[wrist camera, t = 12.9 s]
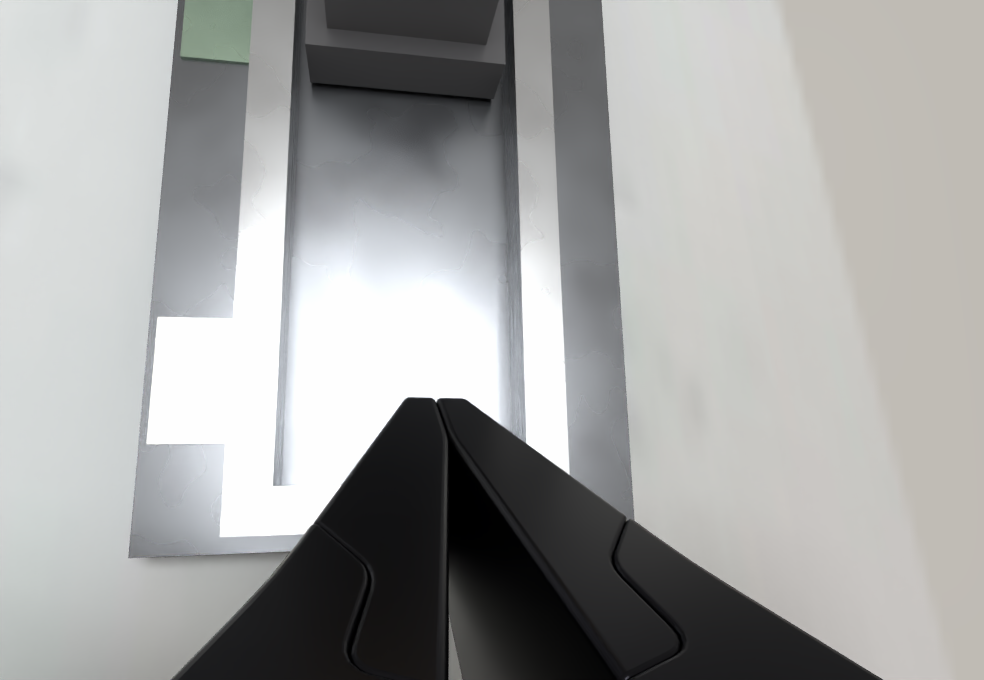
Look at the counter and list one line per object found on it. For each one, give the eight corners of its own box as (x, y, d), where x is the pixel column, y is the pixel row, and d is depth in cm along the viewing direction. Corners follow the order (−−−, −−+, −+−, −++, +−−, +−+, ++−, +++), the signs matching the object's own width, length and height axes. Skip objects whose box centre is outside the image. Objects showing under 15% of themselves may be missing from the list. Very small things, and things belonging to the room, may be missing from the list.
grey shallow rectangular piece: (617, 533, 18) (662, 542, 15) (145, 552, 16) (100, 567, 13) (585, -31, 21) (616, -103, 19) (199, -82, 19) (172, -173, 17)
